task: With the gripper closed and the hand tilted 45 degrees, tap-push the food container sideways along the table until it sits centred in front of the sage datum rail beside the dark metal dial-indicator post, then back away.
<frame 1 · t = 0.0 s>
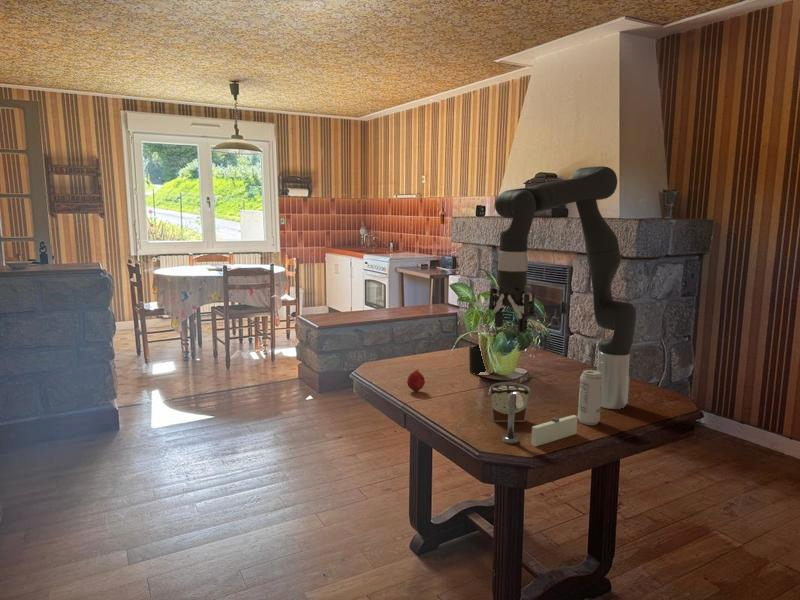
hand: (510, 329, 145), 29 cm above the table, tool pointing down, fingers open, 8 cm apart
energy drink can: (588, 422, 159), on the table
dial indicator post: (510, 440, 145), on the table
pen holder: (481, 373, 207), on the table
onion: (415, 392, 184), on the table
food container: (506, 418, 162), on the table
datum rail: (554, 439, 147), on the table
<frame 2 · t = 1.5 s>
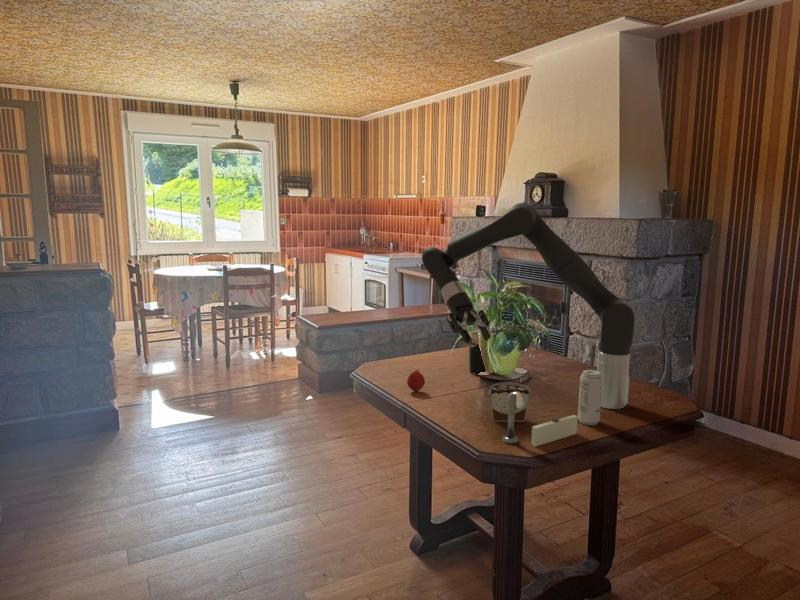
hand: (478, 340, 169), 21 cm above the table, tool tilted 45°, fingers open, 7 cm apart
nothing on the table moved.
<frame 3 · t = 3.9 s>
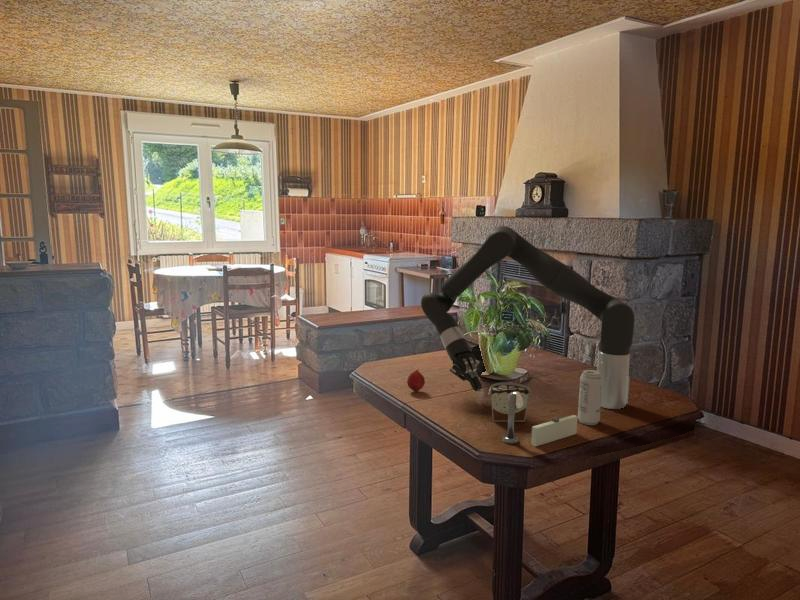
hand: (478, 389, 172), 5 cm above the table, tool tilted 45°, fingers closed
nothing on the table moved.
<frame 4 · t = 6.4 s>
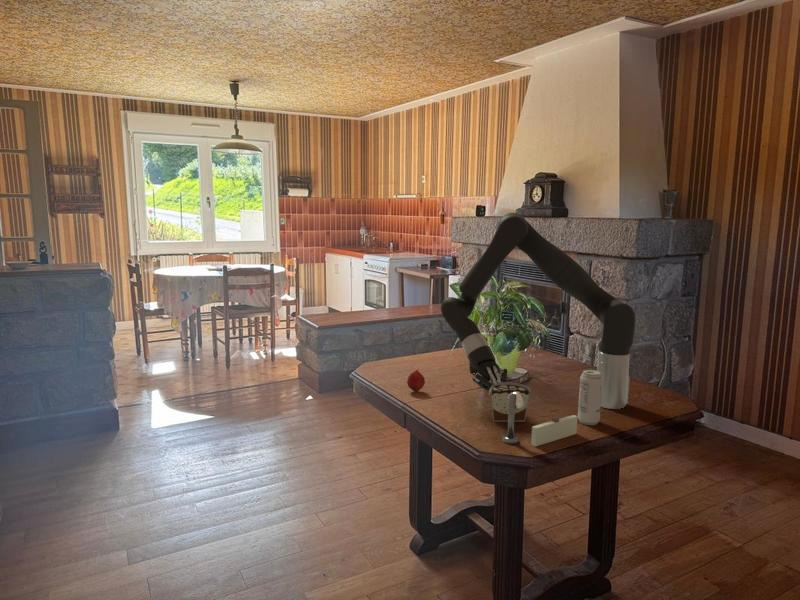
hand: (503, 400, 162), 5 cm above the table, tool tilted 45°, fingers closed
food container: (506, 417, 162), on the table, touching gripper
everything else where it was.
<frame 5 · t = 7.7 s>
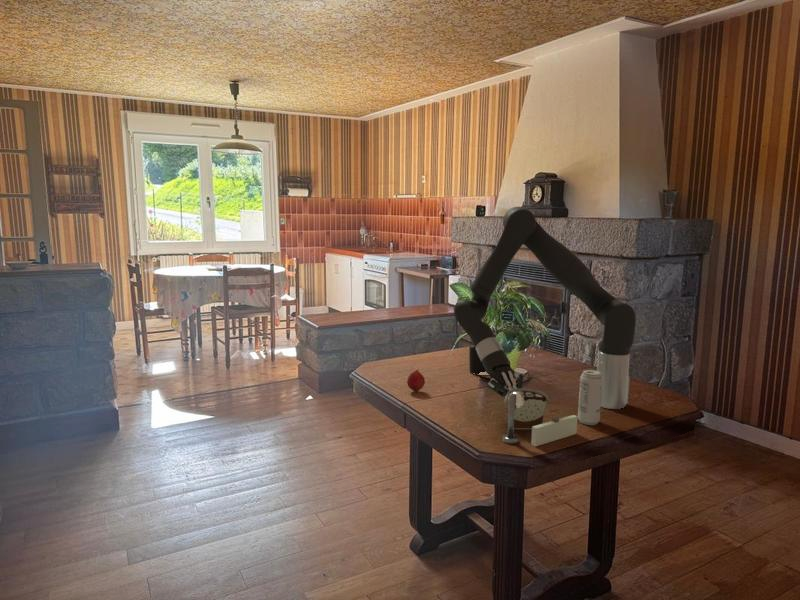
hand: (519, 407, 157), 5 cm above the table, tool tilted 45°, fingers closed
food container: (522, 425, 156), on the table, touching gripper
everything else where it was.
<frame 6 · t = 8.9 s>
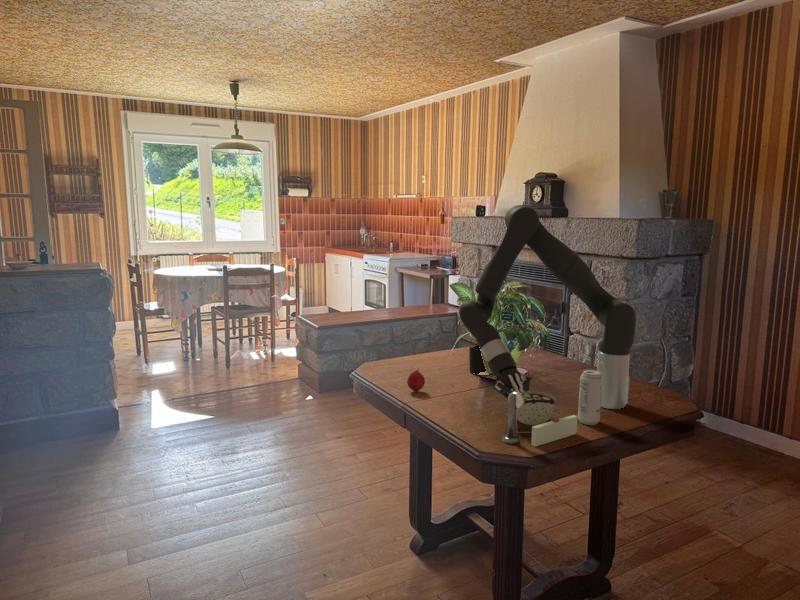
hand: (526, 410, 154), 5 cm above the table, tool tilted 45°, fingers closed
food container: (529, 428, 154), on the table, touching gripper
everything else where it was.
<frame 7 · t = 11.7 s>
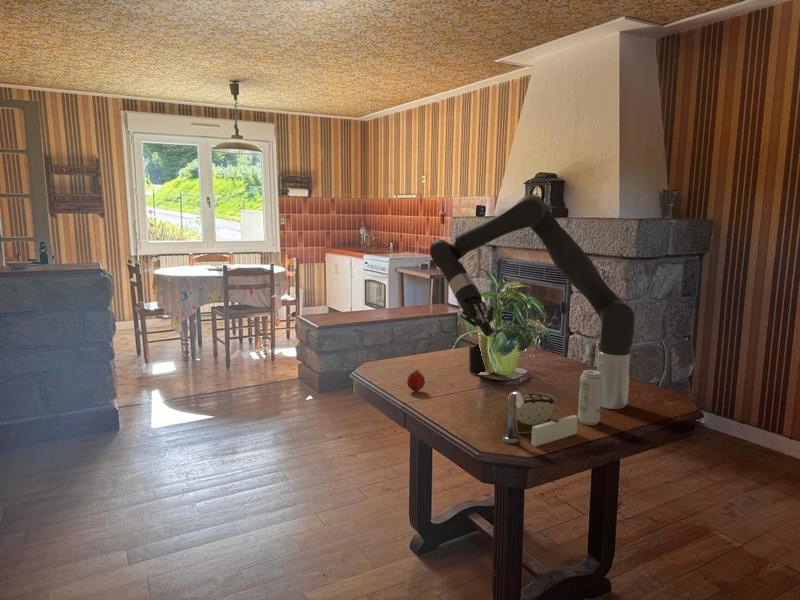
hand: (490, 334, 168), 23 cm above the table, tool tilted 45°, fingers closed
food container: (529, 429, 154), on the table
everything else where it was.
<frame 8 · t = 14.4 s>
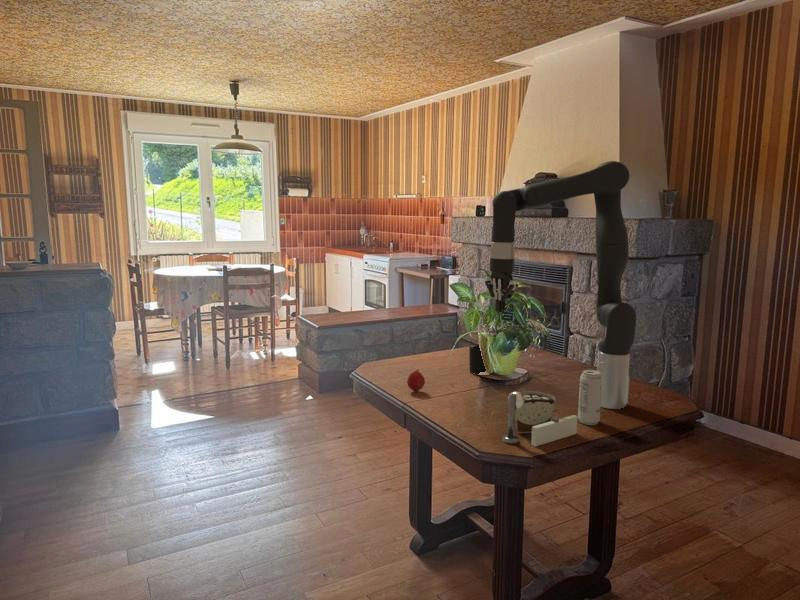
hand: (500, 311, 172), 29 cm above the table, tool pointing down, fingers closed
nothing on the table moved.
at the end: food container inside the target area (1.0 cm from its centre), on the table; food container tilted 0° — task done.
